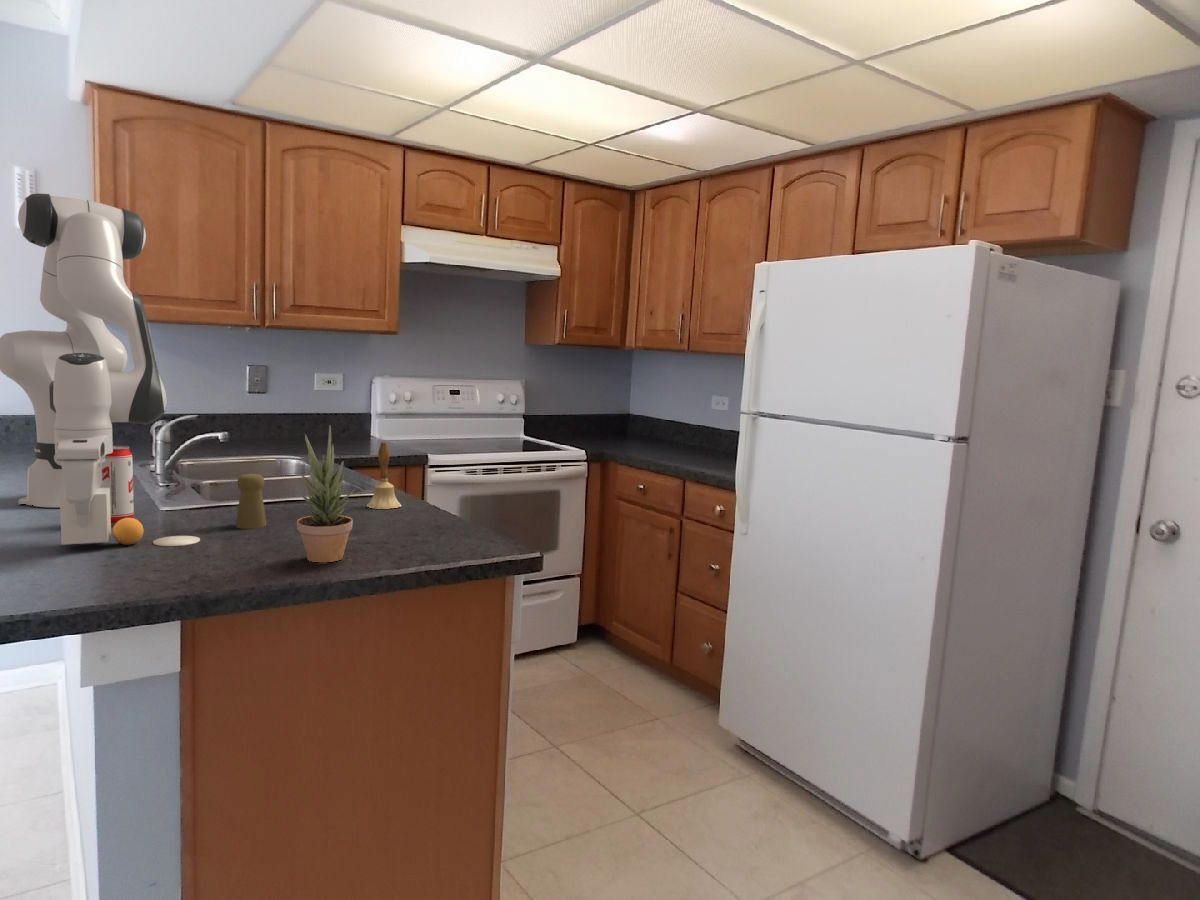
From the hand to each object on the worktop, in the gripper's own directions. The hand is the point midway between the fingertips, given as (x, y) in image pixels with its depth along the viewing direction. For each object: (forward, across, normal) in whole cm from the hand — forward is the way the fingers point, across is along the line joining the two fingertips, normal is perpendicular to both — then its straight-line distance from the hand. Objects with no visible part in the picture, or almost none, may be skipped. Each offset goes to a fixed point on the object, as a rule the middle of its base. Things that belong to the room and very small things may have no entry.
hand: (86, 519), depth 147 cm
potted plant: (+5, +21, +39) cm, 45 cm away
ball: (+3, 0, +6) cm, 7 cm away
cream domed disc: (+5, 0, +14) cm, 15 cm away
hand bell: (+5, -26, +59) cm, 65 cm away
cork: (+5, -12, +28) cm, 31 cm away
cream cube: (+4, 0, 0) cm, 4 cm away
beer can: (+5, -20, +3) cm, 21 cm away
